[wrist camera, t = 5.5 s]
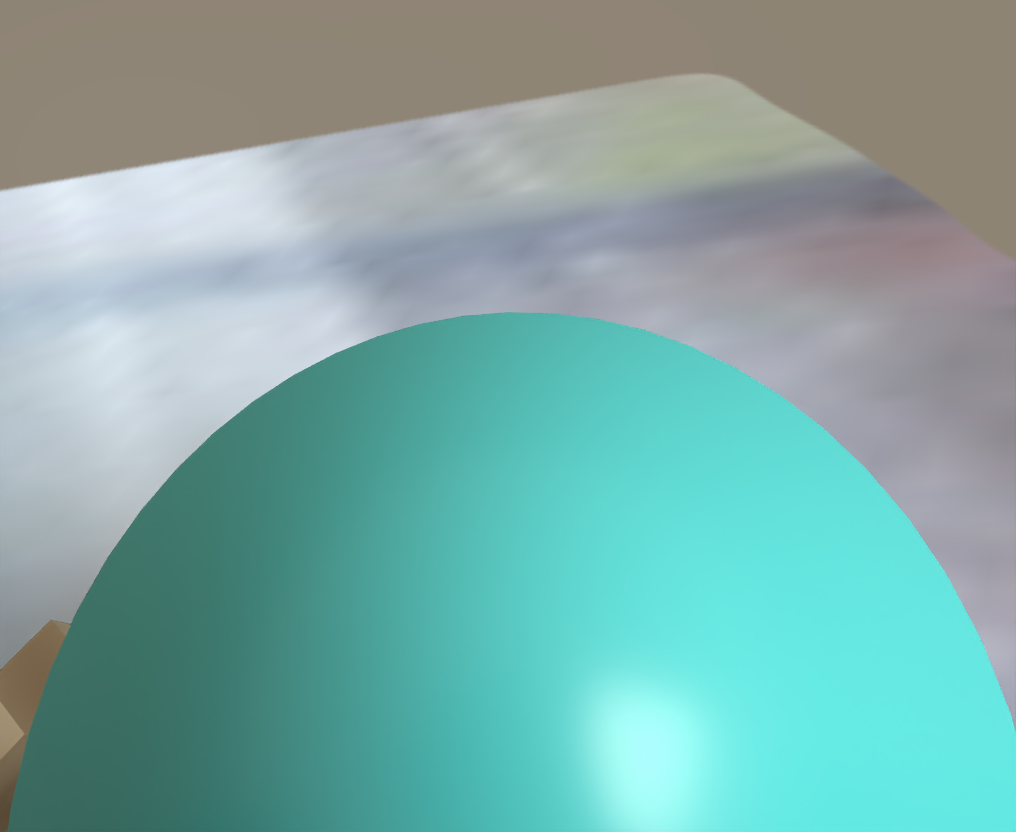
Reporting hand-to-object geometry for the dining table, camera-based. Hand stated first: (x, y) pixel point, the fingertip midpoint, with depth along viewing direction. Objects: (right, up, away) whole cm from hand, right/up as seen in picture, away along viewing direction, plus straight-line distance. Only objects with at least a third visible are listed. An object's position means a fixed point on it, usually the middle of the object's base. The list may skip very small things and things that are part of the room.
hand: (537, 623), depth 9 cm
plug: (+1, -4, +5) cm, 7 cm away
